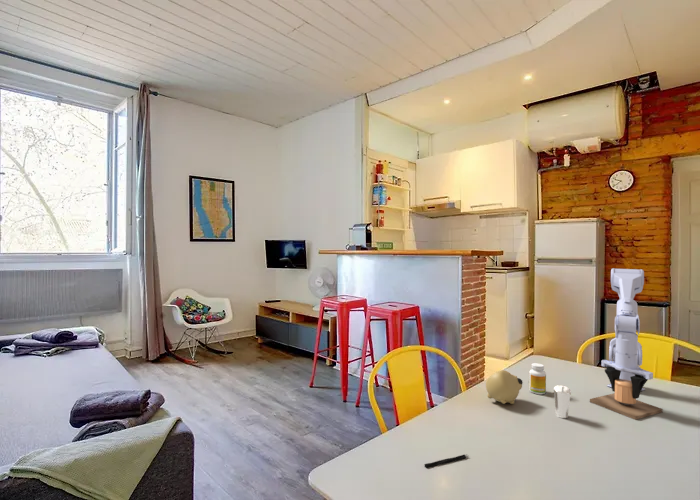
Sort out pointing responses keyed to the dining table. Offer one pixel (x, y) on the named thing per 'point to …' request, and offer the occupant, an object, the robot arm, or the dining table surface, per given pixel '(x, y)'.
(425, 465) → the black stick
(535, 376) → the supplement bottle
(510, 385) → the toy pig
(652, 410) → the post block
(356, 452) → the dining table surface
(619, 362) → the robot arm
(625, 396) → the wire nut cap
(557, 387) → the milkshake
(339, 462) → the dining table surface
